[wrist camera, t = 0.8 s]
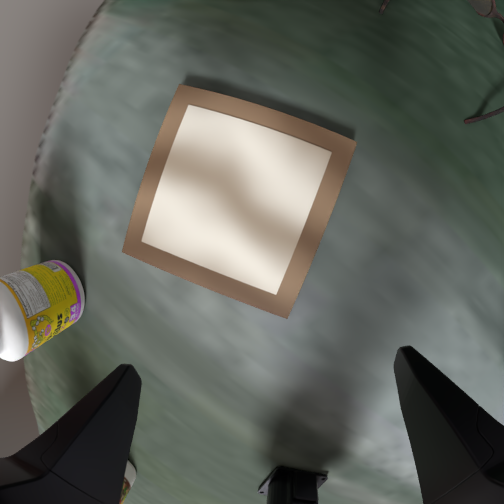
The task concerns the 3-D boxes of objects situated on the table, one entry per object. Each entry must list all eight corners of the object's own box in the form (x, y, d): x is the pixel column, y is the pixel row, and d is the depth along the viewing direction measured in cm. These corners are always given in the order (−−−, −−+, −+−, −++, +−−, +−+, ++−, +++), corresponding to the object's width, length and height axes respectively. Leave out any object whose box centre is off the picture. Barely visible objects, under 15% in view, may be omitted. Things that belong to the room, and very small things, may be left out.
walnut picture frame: (286, 313, 23) (287, 319, 22) (128, 249, 23) (121, 252, 22) (353, 145, 20) (357, 142, 19) (183, 89, 21) (178, 83, 19)
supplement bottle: (64, 331, 26) (-18, 388, 13) (34, 278, 25) (-56, 315, 13) (99, 304, 25) (3, 366, 12) (64, 245, 24) (-42, 276, 11)
